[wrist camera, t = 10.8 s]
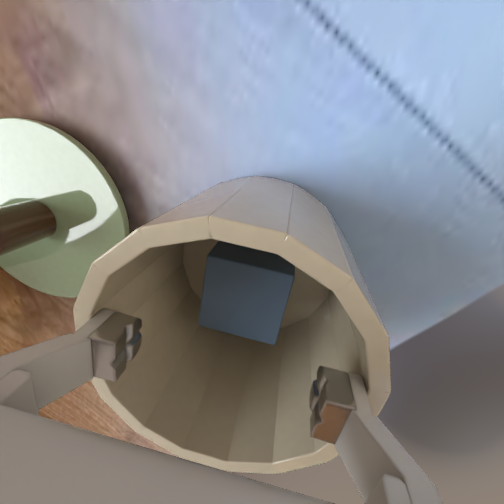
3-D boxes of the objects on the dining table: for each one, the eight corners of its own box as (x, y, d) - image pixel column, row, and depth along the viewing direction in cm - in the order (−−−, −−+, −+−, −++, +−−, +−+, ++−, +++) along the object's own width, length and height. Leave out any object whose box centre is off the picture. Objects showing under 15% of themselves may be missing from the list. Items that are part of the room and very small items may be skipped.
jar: (172, 310, 21) (84, 429, 13) (183, 158, 17) (58, 181, 8) (317, 348, 20) (330, 503, 12) (372, 198, 16) (459, 272, 7)
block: (218, 286, 19) (197, 326, 15) (228, 228, 17) (206, 254, 13) (280, 301, 19) (275, 346, 15) (296, 243, 17) (295, 276, 13)
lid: (-7, 269, 23) (-88, 304, 18) (-46, 101, 18) (-173, 88, 13) (134, 306, 22) (88, 353, 17) (136, 139, 17) (71, 140, 12)
